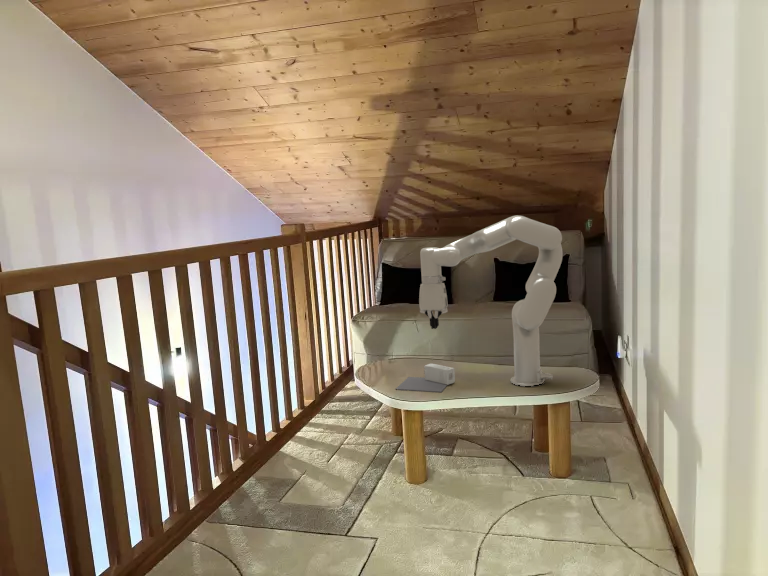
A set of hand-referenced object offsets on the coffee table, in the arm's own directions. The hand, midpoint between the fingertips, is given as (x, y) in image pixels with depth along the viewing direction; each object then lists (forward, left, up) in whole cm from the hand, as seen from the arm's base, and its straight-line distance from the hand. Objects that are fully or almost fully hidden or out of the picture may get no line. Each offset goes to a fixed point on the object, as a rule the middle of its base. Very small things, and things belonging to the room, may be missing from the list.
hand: (434, 328), depth 220 cm
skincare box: (-5, -1, -19) cm, 20 cm away
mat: (+5, 0, -23) cm, 23 cm away
